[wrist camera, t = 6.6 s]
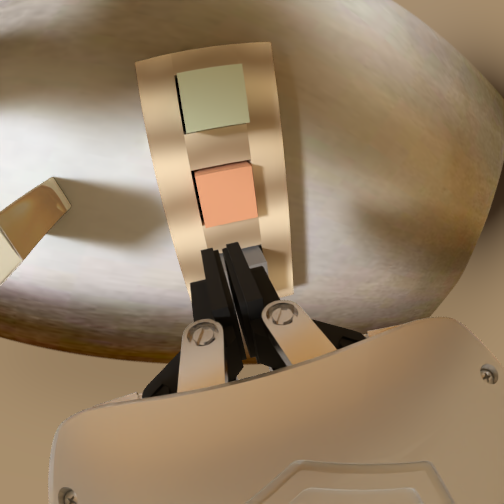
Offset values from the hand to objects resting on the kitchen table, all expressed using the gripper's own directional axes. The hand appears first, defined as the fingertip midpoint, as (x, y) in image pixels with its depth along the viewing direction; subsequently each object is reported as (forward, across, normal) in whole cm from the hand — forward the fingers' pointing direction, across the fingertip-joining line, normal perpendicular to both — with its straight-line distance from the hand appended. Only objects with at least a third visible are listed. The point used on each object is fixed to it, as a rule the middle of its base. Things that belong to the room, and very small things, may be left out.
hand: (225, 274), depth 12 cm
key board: (+18, -2, +1) cm, 18 cm away
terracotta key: (+17, -2, +1) cm, 17 cm away
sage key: (+16, -2, -8) cm, 18 cm away
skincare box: (+18, +18, -2) cm, 26 cm away
